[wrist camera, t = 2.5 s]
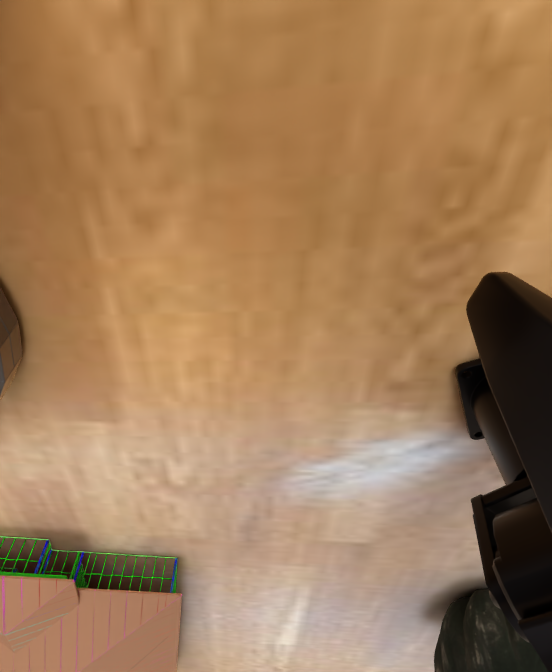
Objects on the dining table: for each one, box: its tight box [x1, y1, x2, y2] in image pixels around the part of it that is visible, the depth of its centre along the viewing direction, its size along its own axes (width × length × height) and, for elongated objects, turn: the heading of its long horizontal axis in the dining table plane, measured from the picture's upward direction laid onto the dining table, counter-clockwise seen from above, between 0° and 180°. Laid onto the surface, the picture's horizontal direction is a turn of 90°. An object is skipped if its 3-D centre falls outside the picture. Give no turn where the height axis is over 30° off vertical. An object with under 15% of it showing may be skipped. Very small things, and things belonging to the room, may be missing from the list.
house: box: [0, 536, 182, 672], centre depth 43 cm, size 23×33×8 cm
